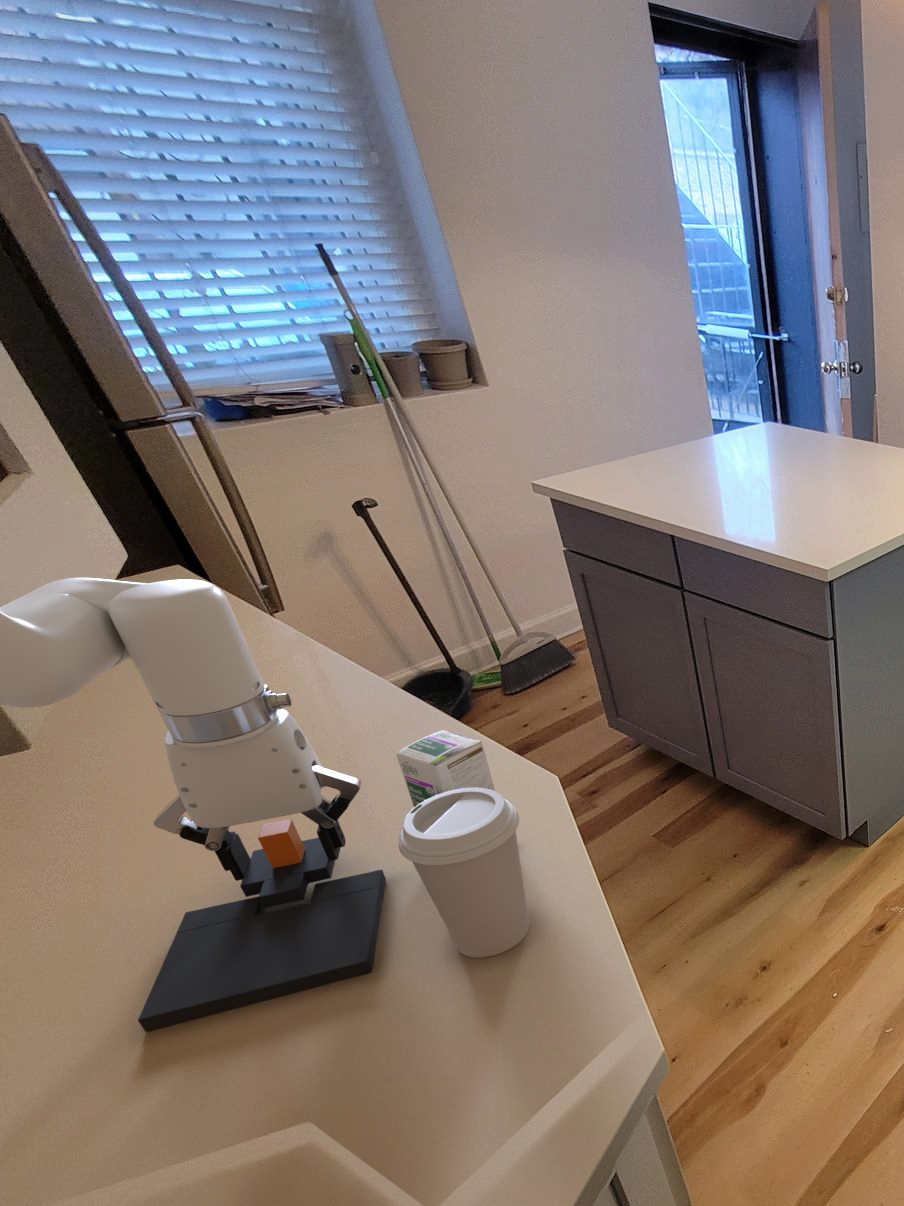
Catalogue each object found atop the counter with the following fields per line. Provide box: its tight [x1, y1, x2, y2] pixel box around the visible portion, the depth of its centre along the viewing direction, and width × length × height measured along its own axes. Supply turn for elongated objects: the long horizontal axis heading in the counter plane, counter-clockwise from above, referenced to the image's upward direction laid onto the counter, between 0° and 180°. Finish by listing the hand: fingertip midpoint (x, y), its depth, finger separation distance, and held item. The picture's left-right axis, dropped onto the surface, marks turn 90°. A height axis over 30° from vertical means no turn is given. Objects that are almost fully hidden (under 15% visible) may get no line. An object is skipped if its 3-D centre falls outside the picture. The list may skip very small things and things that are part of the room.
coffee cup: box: [398, 788, 531, 959], centre depth 75 cm, size 10×10×15 cm
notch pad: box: [137, 869, 387, 1033], centre depth 75 cm, size 16×14×2 cm
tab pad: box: [240, 818, 336, 909], centre depth 80 cm, size 7×9×6 cm
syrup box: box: [395, 729, 496, 808], centre depth 84 cm, size 6×6×14 cm
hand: (290, 861), depth 82 cm, fingers closed on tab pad, 7 cm apart
